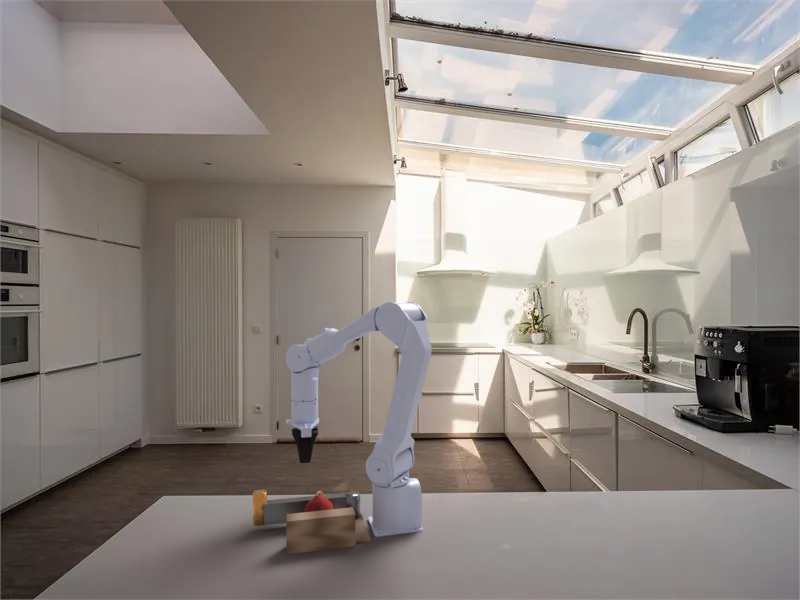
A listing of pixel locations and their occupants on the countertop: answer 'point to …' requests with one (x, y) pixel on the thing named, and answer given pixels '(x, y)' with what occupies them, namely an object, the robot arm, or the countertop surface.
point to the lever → (295, 506)
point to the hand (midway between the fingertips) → (305, 462)
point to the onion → (318, 503)
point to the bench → (325, 530)
